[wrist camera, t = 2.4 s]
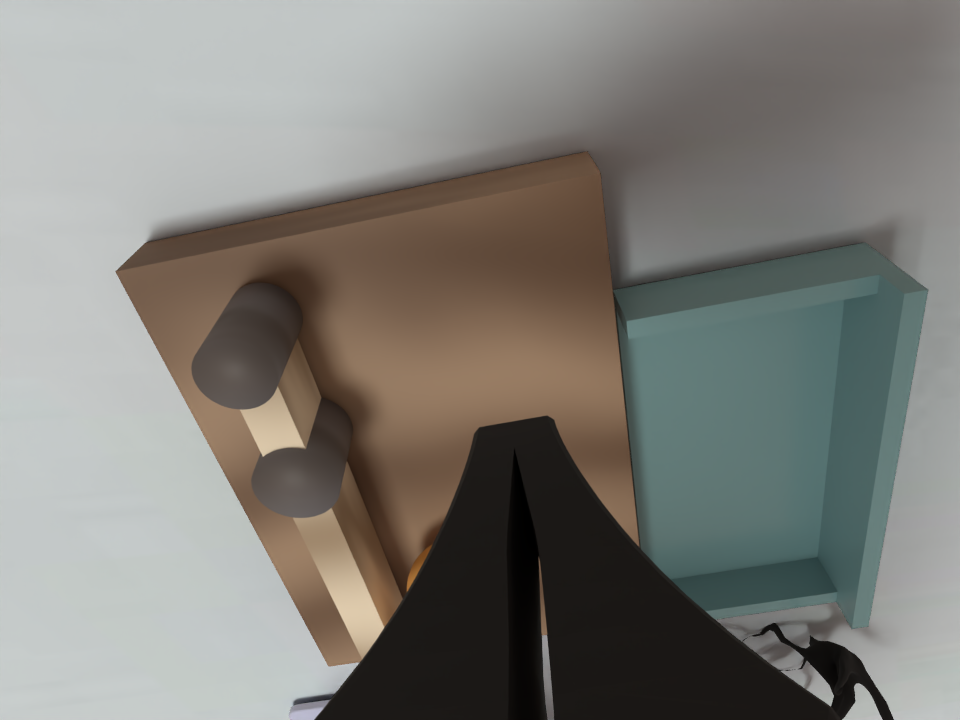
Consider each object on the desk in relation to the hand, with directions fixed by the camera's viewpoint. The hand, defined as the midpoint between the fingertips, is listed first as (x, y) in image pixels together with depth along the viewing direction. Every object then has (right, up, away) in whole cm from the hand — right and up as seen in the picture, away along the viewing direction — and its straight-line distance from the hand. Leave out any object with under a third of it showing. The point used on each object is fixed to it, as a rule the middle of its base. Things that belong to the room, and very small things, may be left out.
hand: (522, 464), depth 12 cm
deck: (-2, -1, +12) cm, 12 cm away
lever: (-5, -2, +10) cm, 11 cm away
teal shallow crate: (+8, -1, +12) cm, 15 cm away
